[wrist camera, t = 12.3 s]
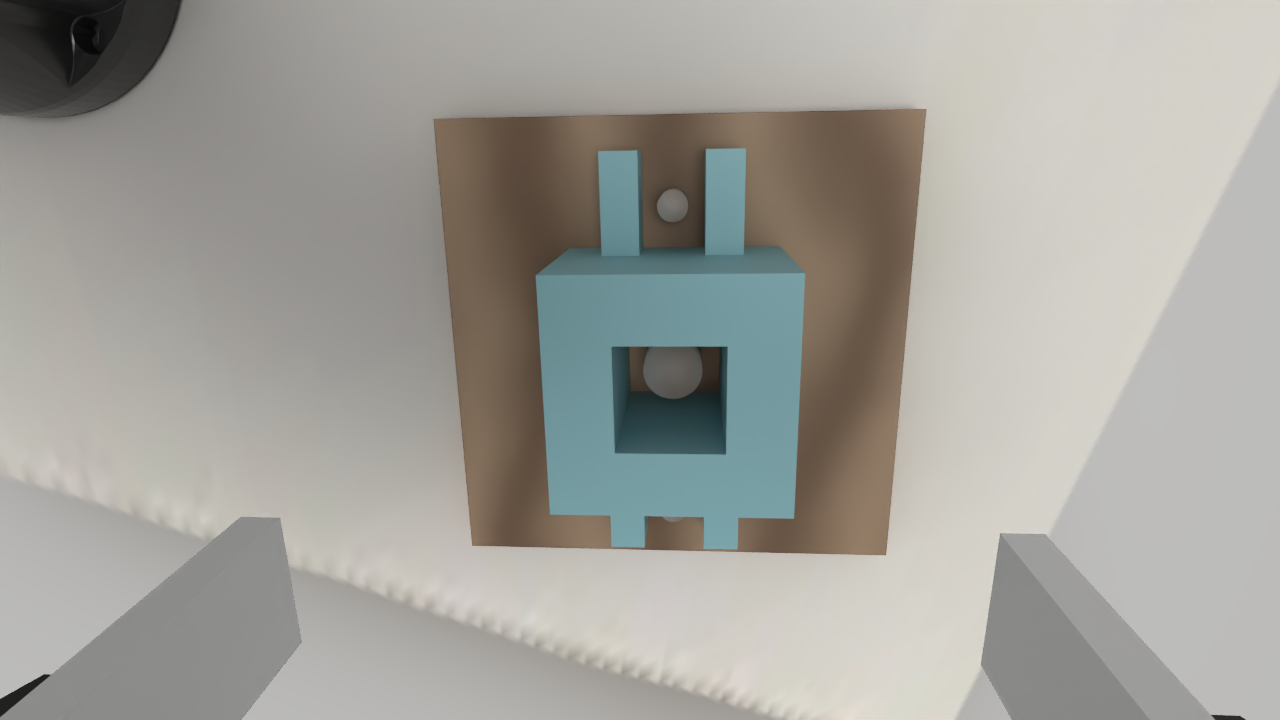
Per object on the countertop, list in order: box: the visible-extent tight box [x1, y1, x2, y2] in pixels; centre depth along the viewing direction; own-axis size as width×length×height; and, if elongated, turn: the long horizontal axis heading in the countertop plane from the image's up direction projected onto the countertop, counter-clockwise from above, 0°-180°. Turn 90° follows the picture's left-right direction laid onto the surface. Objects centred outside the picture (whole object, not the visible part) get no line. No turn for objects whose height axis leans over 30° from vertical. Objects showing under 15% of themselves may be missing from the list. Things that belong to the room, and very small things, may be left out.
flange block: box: [536, 148, 805, 549], centre depth 29 cm, size 17×9×7 cm, turn 1°
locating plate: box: [434, 109, 926, 555], centre depth 31 cm, size 20×20×4 cm
